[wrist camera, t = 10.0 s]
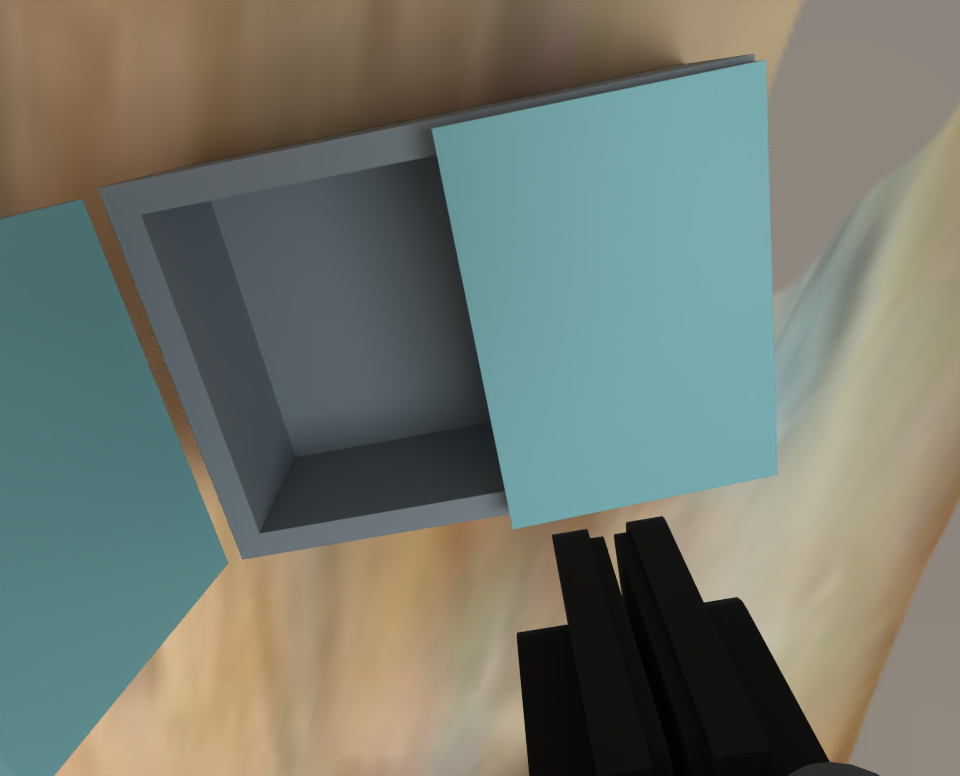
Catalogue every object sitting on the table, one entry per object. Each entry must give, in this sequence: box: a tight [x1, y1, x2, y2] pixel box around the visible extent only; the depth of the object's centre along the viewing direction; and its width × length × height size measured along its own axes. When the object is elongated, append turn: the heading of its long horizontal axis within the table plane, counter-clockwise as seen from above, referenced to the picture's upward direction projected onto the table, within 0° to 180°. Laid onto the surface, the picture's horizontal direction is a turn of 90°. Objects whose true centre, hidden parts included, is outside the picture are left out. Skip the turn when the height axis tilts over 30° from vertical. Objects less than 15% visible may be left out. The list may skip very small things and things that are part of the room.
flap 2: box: [431, 60, 777, 529], centre depth 23 cm, size 14×10×1 cm
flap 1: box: [0, 199, 228, 776], centre depth 20 cm, size 14×10×1 cm
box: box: [98, 54, 755, 560], centre depth 27 cm, size 14×20×7 cm
